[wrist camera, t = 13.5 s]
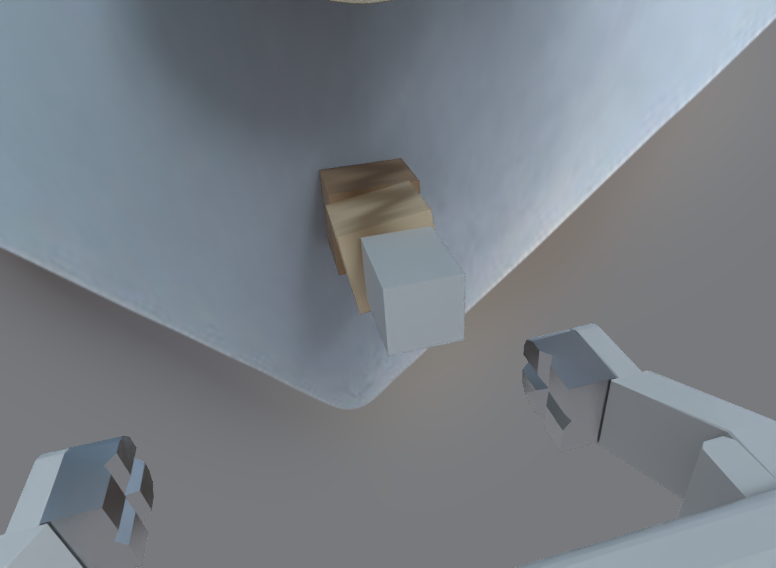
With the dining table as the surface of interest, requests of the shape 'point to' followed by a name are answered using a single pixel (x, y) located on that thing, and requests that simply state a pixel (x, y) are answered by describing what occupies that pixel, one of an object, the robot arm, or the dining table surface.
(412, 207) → the oak block
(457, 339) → the grey block
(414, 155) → the dining table surface
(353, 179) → the walnut block
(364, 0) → the planter bowl
